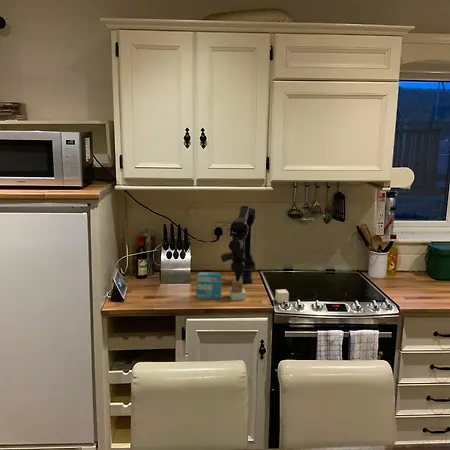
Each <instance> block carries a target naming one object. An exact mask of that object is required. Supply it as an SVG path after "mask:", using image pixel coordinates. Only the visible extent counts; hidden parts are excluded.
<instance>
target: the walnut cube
mask: <svg viewBox="0 0 450 450" xmlns="http://www.w3.org/2000/svg"><path fill="white" fill-rule="evenodd" d="M243 284H244V283H243V279H241V278H240V279H239V281H236V278H232V281H231V288H232V292H242V289H243V288H244V285H243Z"/></svg>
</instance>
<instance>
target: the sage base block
mask: <svg viewBox="0 0 450 450" xmlns="http://www.w3.org/2000/svg"><path fill="white" fill-rule="evenodd" d="M228 293H229V298H230V300H231V301H246V300H247V291H246V290H245V288H244V287H243V289H242V292H232V287H230V288H229V292H228Z"/></svg>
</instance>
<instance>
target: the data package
mask: <svg viewBox="0 0 450 450" xmlns="http://www.w3.org/2000/svg"><path fill="white" fill-rule="evenodd" d="M195 281H196V282H195V285H196V289H195V295H196V298H197V299H202V300H203V299H205V300H208V299H209V300H219V299H220V298H221V296H222V274H221V273H220V272H209V271H208V272H206V271H205V272H204V271H203V272H202V271H200V272H198V273H197V274H196V280H195Z"/></svg>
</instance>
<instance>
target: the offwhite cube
mask: <svg viewBox="0 0 450 450" xmlns="http://www.w3.org/2000/svg"><path fill="white" fill-rule="evenodd" d="M274 297H275V298H274V300H275V301H276V302H277V304H284V303H283V302H284V301H286V302H288V303H289V299H290V298H289V297H290V293H289V291H288V290H287V289H283V288H282V289H275V296H274Z"/></svg>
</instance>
